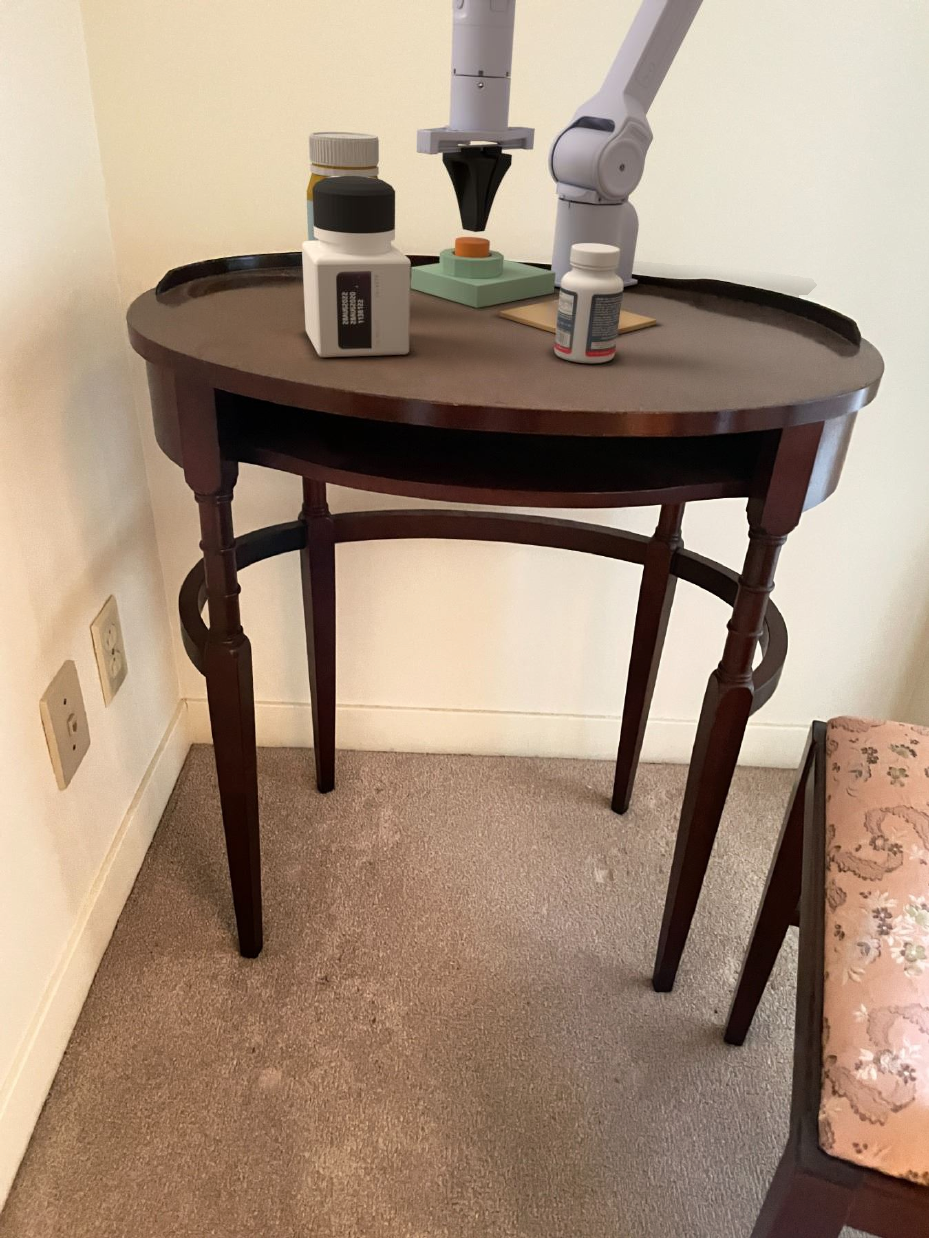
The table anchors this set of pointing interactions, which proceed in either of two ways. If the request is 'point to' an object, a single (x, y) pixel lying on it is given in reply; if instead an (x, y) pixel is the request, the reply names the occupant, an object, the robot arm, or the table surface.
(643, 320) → the coaster
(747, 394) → the table surface
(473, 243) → the orange button cap
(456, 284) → the base
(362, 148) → the bottle
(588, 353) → the pill bottle
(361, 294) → the container
